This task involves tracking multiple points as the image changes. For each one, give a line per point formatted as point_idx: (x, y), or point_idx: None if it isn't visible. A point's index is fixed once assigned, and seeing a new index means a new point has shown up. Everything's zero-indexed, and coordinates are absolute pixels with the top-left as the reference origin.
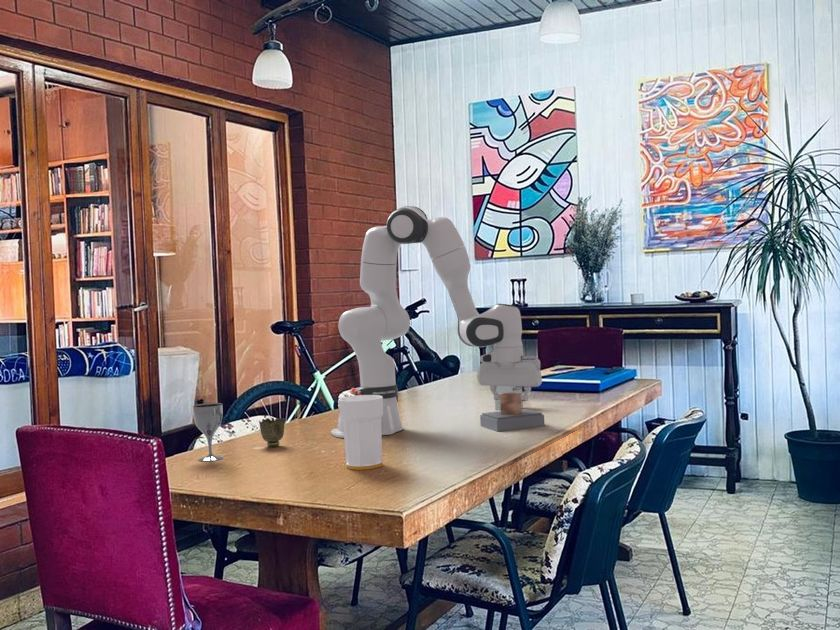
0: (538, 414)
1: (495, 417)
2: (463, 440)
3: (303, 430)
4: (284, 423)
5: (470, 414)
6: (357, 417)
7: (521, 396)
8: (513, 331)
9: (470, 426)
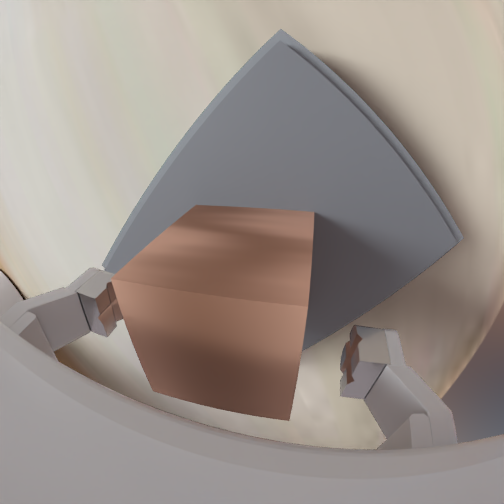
0: (435, 254)
1: None
2: (217, 424)
3: None
4: None
5: (21, 26)
6: None
7: (342, 389)
8: None
9: (104, 252)
